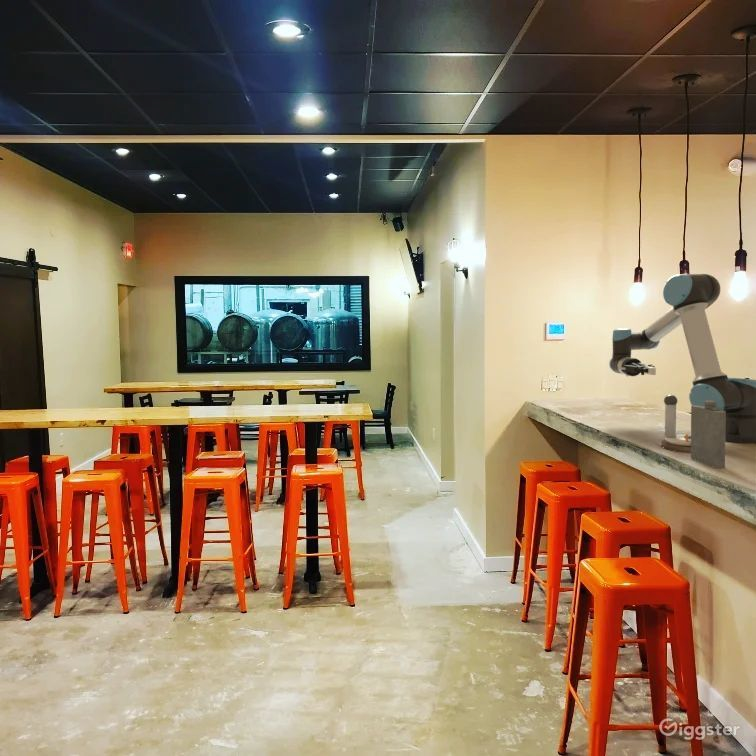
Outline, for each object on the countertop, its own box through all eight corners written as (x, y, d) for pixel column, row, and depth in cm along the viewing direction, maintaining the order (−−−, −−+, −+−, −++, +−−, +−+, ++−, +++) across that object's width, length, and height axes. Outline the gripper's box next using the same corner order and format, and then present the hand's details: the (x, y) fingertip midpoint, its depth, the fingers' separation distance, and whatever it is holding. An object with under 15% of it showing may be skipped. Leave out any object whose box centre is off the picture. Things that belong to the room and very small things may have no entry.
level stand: (701, 441, 233) (701, 427, 232) (727, 451, 215) (727, 436, 214) (652, 443, 233) (652, 429, 232) (674, 453, 215) (674, 438, 215)
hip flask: (688, 457, 208) (689, 398, 206) (700, 457, 208) (701, 397, 206) (717, 468, 192) (718, 404, 190) (729, 468, 192) (731, 403, 190)
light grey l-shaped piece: (713, 439, 226) (714, 393, 225) (711, 447, 213) (712, 398, 212) (666, 436, 234) (666, 392, 233) (660, 444, 221) (661, 397, 220)
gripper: (645, 375, 261) (670, 380, 238) (614, 376, 262) (636, 381, 238) (645, 357, 261) (671, 361, 237) (614, 358, 261) (636, 362, 238)
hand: (653, 371), depth 238 cm, fingers closed
